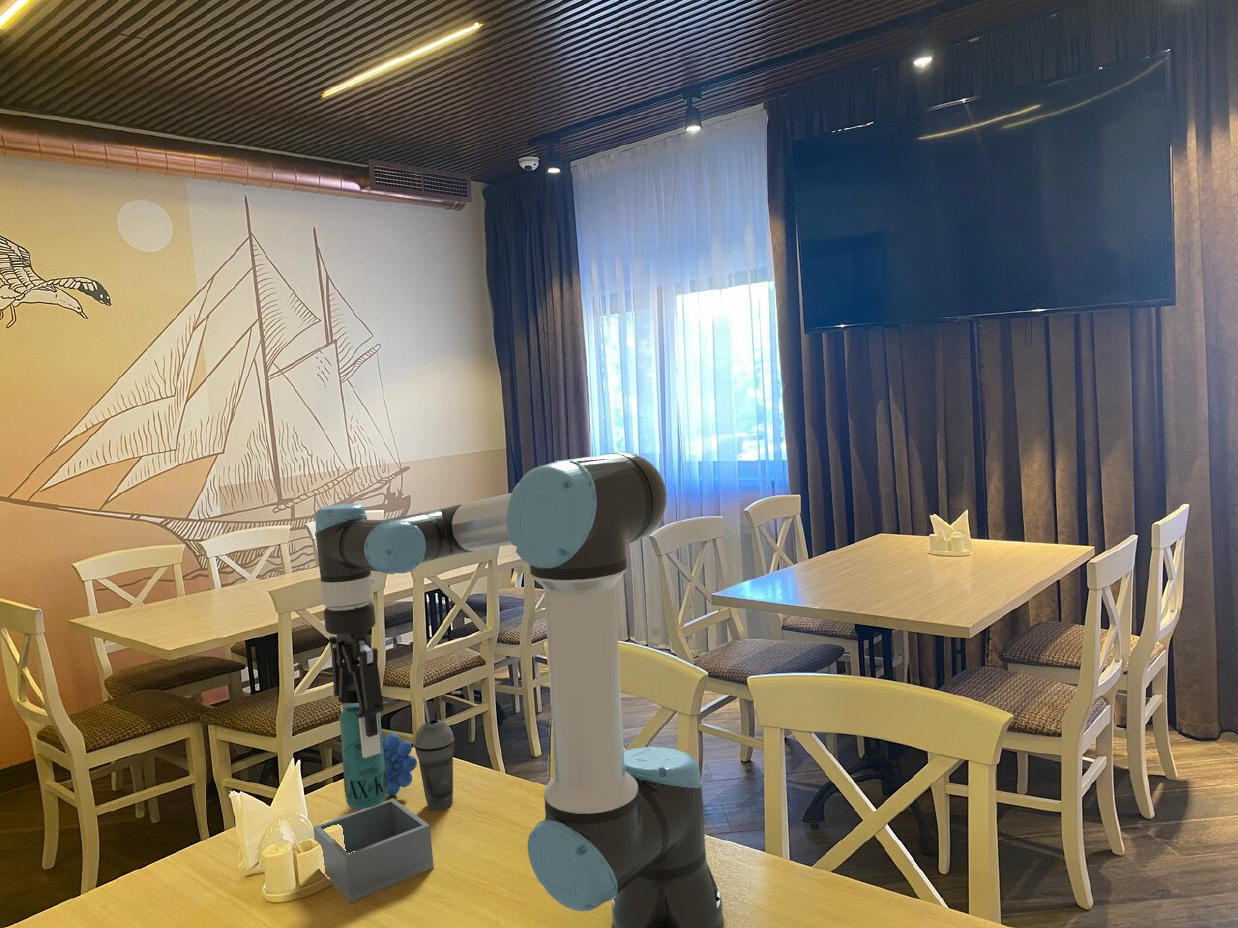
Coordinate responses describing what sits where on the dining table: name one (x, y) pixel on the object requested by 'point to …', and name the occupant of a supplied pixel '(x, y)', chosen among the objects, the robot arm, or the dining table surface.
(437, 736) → the beverage cup
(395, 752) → the grapes
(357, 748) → the beverage bottle
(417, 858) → the crate
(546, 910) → the dining table surface
